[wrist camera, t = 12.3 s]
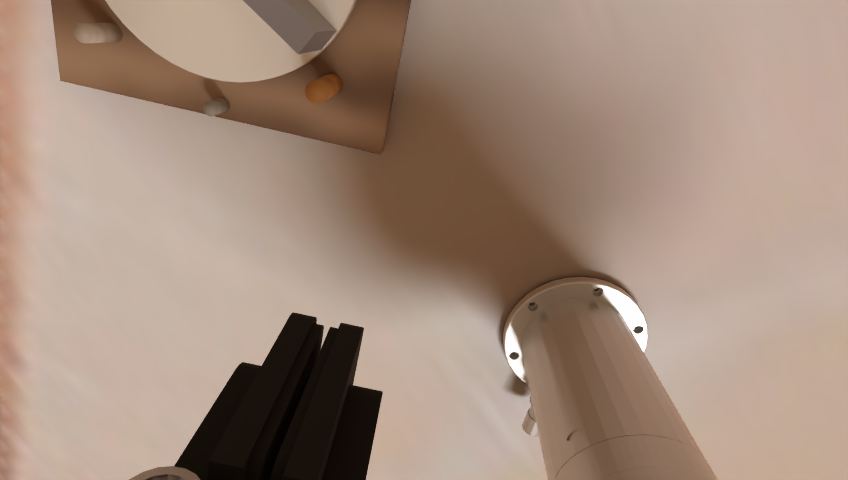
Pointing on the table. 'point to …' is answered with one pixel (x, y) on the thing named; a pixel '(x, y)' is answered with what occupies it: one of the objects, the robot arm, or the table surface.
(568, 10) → the table surface
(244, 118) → the dial board
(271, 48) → the dial
